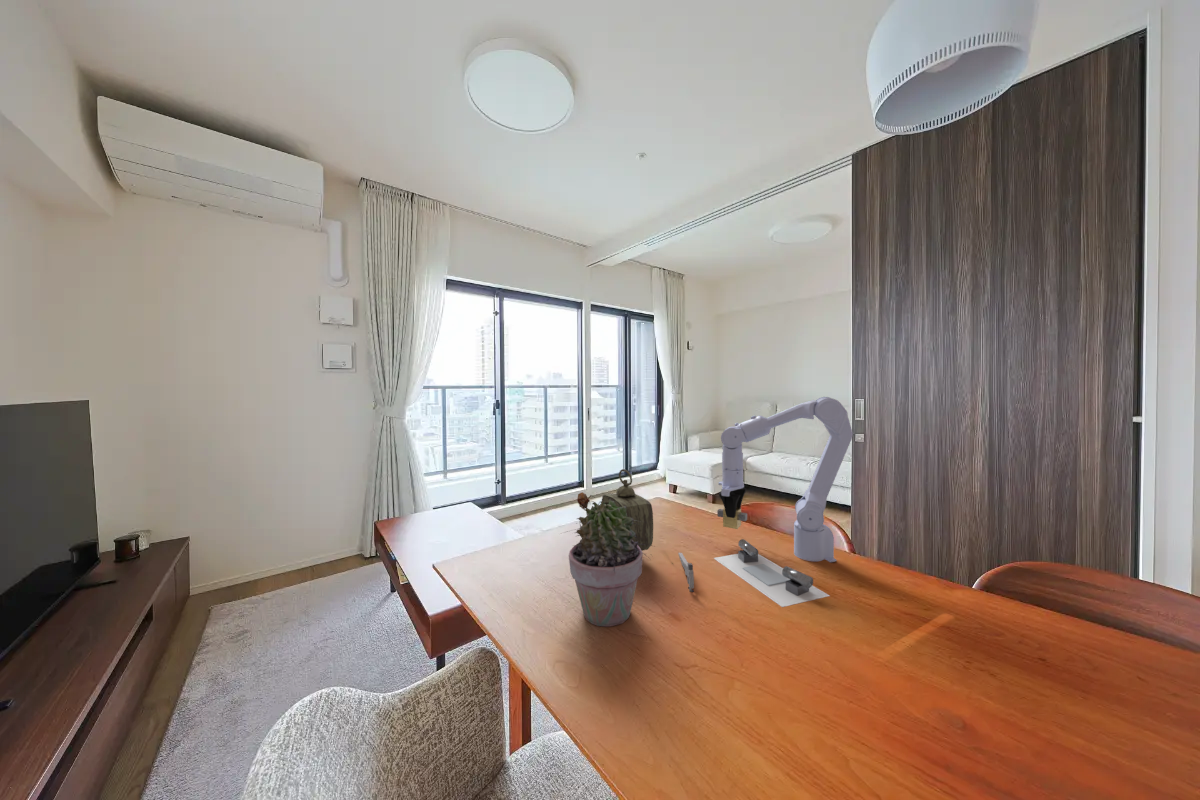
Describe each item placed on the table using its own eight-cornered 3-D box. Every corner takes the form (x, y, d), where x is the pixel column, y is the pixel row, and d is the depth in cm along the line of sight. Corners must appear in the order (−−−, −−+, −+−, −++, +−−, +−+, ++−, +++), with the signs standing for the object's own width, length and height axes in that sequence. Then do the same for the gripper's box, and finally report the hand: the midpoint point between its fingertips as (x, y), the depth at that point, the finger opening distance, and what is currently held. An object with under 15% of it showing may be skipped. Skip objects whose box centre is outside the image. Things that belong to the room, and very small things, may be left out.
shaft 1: (735, 555, 108) (735, 539, 108) (749, 554, 109) (749, 538, 109) (746, 565, 102) (746, 548, 102) (761, 564, 103) (761, 547, 103)
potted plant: (655, 646, 73) (653, 512, 72) (553, 635, 77) (550, 508, 76) (660, 595, 91) (658, 487, 90) (577, 588, 95) (575, 484, 94)
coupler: (720, 521, 119) (720, 504, 119) (748, 526, 115) (748, 509, 115) (716, 525, 116) (716, 508, 116) (744, 530, 112) (744, 513, 111)
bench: (753, 554, 111) (753, 549, 111) (830, 600, 87) (830, 594, 87) (713, 561, 107) (713, 556, 107) (782, 611, 83) (782, 605, 83)
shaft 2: (779, 587, 91) (779, 568, 91) (791, 582, 93) (791, 564, 93) (803, 599, 86) (803, 579, 86) (815, 594, 88) (815, 574, 88)
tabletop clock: (601, 552, 114) (600, 466, 113) (629, 546, 118) (628, 463, 117) (626, 573, 101) (624, 476, 100) (656, 566, 105) (654, 472, 104)
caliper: (694, 594, 92) (694, 567, 91) (689, 593, 92) (689, 567, 91) (681, 555, 112) (680, 533, 112) (677, 555, 112) (677, 533, 112)
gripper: (726, 462, 123) (727, 506, 123) (710, 471, 111) (711, 519, 112) (750, 464, 119) (750, 509, 119) (736, 474, 107) (736, 524, 107)
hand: (733, 514), depth 115 cm, fingers closed on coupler, 4 cm apart
